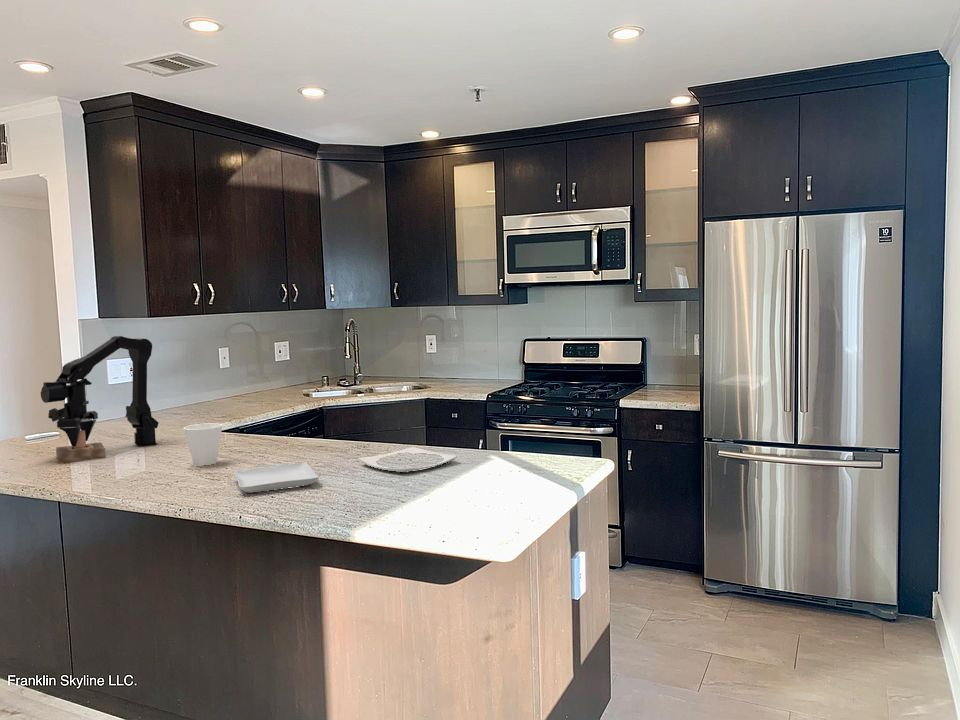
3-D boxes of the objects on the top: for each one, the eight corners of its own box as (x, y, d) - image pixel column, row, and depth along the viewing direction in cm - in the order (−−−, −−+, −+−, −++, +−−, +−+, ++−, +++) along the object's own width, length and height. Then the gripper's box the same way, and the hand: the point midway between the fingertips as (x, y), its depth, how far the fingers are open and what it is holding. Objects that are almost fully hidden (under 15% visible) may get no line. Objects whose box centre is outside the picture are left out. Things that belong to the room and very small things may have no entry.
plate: (413, 453, 240) (413, 445, 239) (463, 464, 222) (463, 455, 222) (352, 466, 223) (352, 458, 222) (401, 479, 205) (401, 470, 205)
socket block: (101, 451, 256) (101, 441, 255) (105, 457, 244) (104, 447, 244) (56, 456, 248) (55, 446, 248) (58, 463, 236) (57, 453, 236)
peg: (86, 455, 248) (84, 430, 248) (87, 457, 245) (85, 431, 245) (74, 456, 247) (72, 431, 246) (75, 458, 244) (73, 432, 243)
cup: (232, 460, 234) (230, 423, 233) (207, 469, 222) (205, 430, 221) (203, 459, 237) (200, 422, 236) (177, 467, 226) (174, 428, 225)
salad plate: (240, 498, 188) (239, 486, 188) (233, 481, 208) (232, 469, 207) (320, 488, 197) (320, 476, 196) (306, 472, 216) (306, 461, 216)
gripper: (63, 396, 252) (66, 439, 254) (38, 403, 234) (41, 450, 235) (97, 395, 254) (100, 438, 255) (74, 402, 235) (77, 448, 237)
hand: (79, 443), depth 246 cm, fingers open, 9 cm apart
